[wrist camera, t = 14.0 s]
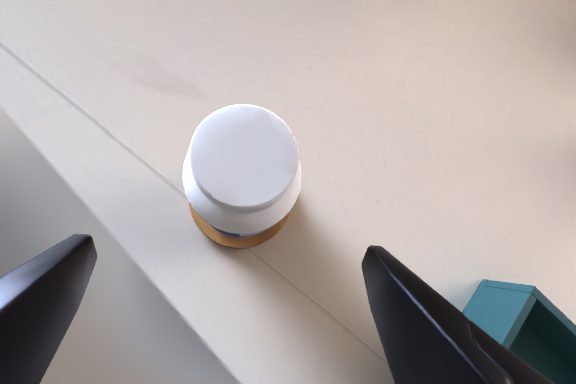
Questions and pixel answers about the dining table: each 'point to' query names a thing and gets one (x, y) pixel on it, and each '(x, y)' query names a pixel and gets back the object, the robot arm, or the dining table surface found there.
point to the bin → (527, 327)
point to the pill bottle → (242, 170)
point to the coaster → (234, 241)
